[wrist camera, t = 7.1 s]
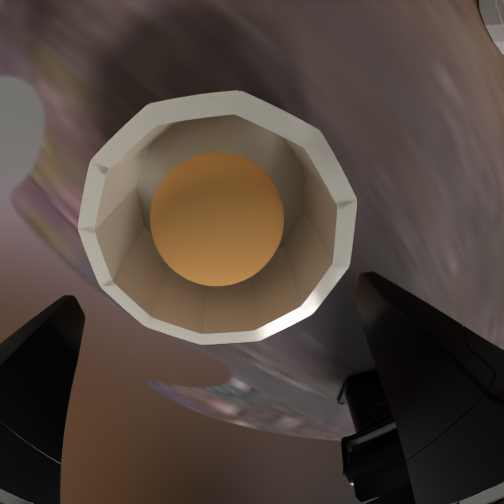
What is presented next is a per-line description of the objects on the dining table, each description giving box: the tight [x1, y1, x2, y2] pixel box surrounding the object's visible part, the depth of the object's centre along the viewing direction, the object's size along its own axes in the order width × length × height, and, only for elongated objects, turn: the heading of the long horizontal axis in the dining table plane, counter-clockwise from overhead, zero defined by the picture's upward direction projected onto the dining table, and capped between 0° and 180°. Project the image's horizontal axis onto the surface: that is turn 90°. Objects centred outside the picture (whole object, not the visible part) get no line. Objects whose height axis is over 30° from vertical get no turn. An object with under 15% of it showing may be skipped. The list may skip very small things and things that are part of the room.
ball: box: [150, 152, 284, 286], centre depth 12 cm, size 6×6×6 cm
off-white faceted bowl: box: [78, 90, 357, 345], centre depth 13 cm, size 11×11×6 cm
